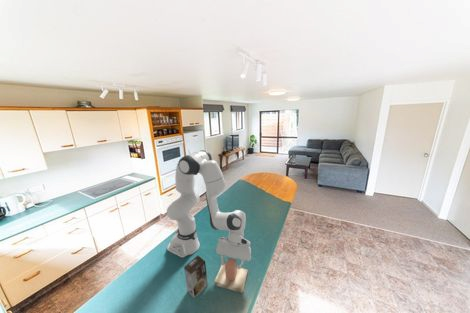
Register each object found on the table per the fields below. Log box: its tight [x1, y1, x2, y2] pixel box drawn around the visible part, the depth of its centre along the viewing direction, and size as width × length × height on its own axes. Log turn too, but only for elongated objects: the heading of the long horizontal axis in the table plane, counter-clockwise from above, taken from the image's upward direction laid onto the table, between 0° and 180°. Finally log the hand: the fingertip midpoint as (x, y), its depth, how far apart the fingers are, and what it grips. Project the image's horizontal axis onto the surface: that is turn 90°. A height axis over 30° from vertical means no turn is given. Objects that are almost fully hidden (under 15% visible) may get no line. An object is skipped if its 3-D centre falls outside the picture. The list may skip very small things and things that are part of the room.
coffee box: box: [183, 255, 209, 299], centre depth 87 cm, size 9×6×16 cm
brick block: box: [225, 257, 238, 281], centre depth 92 cm, size 5×5×9 cm
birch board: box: [213, 265, 249, 294], centre depth 93 cm, size 16×12×2 cm
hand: (230, 267), depth 91 cm, fingers open, 8 cm apart
